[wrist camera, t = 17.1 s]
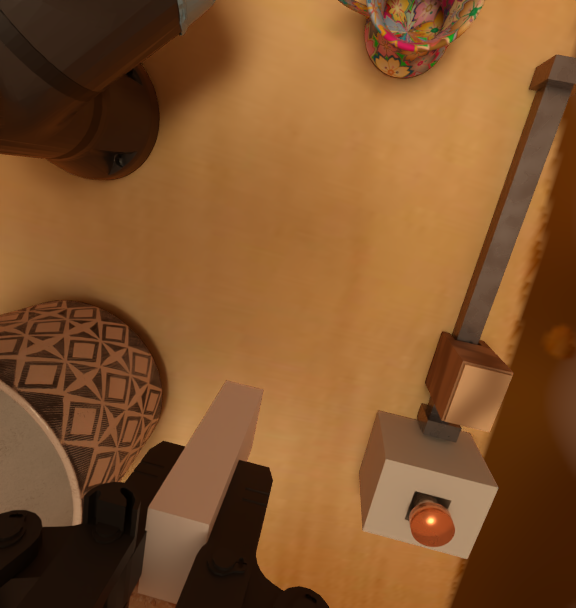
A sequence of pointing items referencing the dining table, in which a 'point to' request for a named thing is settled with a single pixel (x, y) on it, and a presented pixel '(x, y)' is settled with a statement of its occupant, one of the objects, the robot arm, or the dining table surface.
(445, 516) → the push button
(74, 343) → the planter
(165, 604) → the bread
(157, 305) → the dining table surface
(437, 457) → the knob base
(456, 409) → the block
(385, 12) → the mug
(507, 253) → the rail
